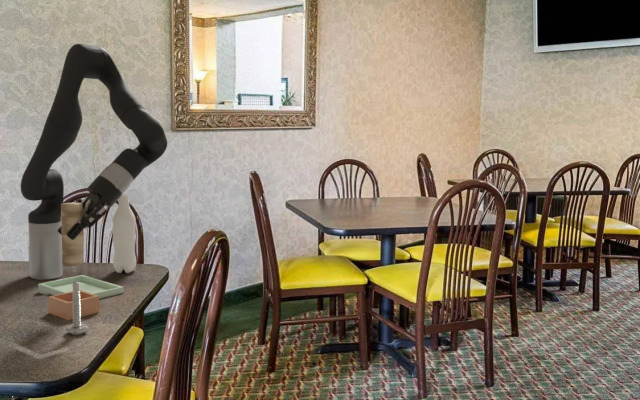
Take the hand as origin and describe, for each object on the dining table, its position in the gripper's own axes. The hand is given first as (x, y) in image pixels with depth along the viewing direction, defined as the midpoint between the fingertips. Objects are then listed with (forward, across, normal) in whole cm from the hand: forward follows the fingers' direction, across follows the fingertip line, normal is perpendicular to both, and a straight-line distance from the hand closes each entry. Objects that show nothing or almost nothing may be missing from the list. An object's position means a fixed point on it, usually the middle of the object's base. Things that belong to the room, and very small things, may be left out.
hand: (65, 235), depth 156 cm
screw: (+17, +15, +12) cm, 26 cm away
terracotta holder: (+13, 0, +16) cm, 21 cm away
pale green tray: (+7, -18, +22) cm, 29 cm away
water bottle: (-8, -34, +38) cm, 52 cm away
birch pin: (+4, 0, +6) cm, 8 cm away
